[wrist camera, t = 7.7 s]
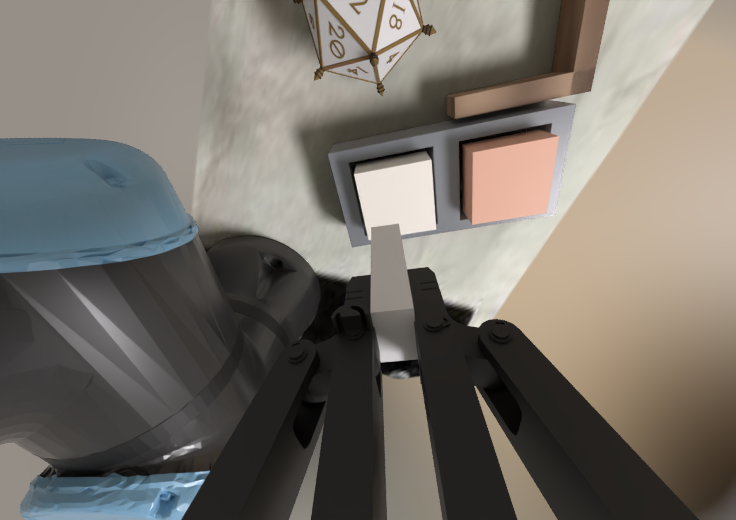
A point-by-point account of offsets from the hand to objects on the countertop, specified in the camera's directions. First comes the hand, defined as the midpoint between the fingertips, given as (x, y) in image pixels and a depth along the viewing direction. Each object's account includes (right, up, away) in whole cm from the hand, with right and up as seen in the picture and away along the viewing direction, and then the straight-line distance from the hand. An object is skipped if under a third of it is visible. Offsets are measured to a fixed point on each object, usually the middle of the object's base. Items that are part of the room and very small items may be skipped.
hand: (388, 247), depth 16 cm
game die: (-1, +18, +6) cm, 19 cm away
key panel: (+6, +8, +12) cm, 15 cm away
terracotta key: (+10, +7, +9) cm, 15 cm away
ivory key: (+1, +6, +10) cm, 12 cm away
